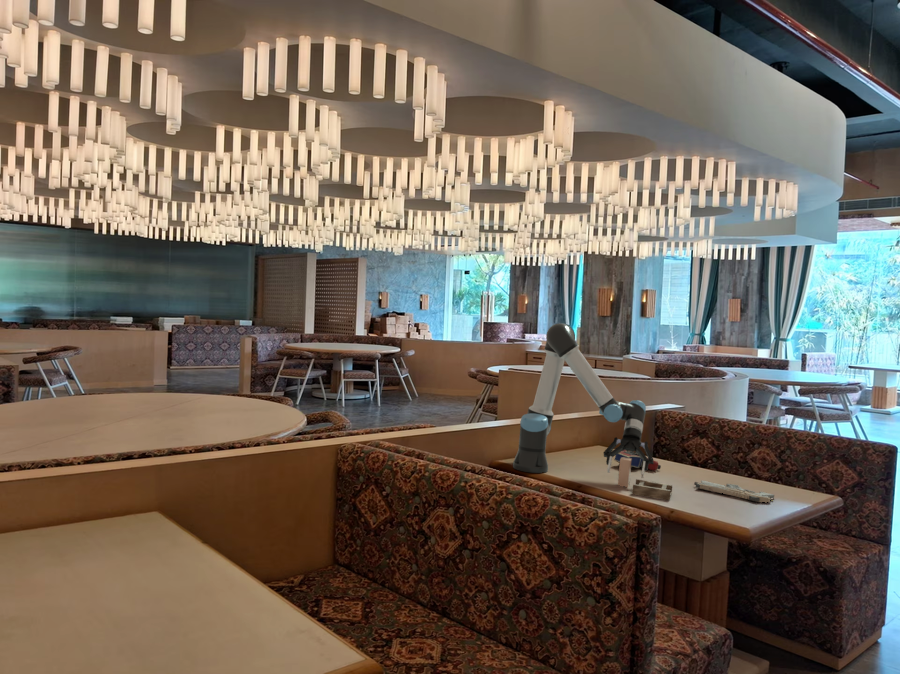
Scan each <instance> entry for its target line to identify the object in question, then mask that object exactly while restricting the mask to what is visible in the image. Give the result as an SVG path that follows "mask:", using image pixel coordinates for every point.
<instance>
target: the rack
mask: <svg viewBox="0 0 900 674" xmlns="http://www.w3.org/2000/svg"><path fill="white" fill-rule="evenodd" d="M631 494H632V495H634V494H635V495H636V496H641V497H646V498H653V499H658V500H665V501H670V500H671V497H672V494H673V484H668V483H662V482H656V481H652V480H651V481H649V480H644V479H643V480H642V479H635V483H633V484H632V491H631Z"/></svg>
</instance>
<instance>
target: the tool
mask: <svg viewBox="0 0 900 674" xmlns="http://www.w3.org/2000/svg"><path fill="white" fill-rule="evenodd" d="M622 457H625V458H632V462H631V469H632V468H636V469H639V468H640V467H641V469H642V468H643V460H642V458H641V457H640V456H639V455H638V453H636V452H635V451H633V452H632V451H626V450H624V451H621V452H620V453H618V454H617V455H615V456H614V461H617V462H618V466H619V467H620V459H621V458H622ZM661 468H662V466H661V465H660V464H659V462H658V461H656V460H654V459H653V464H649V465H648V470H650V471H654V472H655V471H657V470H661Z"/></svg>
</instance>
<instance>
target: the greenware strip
mask: <svg viewBox="0 0 900 674" xmlns="http://www.w3.org/2000/svg"><path fill="white" fill-rule="evenodd" d="M631 462H632V458H625V457H622V458H621V459H620V462H619V463H620V466H619V468H618V478H617V486H618V485H620V486H619V487H623V486H625V487H624V488H628V487H629V486H630V481H631V471H632V468H631Z"/></svg>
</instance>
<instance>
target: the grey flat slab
mask: <svg viewBox="0 0 900 674" xmlns="http://www.w3.org/2000/svg"><path fill="white" fill-rule="evenodd" d="M693 485H695V488H698V489H701V490H705V491H709V492H711V493H713V494H715V493H718V494H722V493H723V495H728V496H733V497H736V498H741V499H744V500H745V499H746V500H748V501H751V502H756V503H757V502H758V503H762V502H765V503H764V504H768V503H771V501H773V502H774V499H775V494H773V493H769V492H764V491H759V492H755V491H754V490H750V489H746V488H742V487H741V486H740V485H739V484H731V483H726V485H724V484H719V483H714V482H710V481H706V480H700V482H697V481H694V484H693ZM771 498H774V499H772V500H771ZM770 500H771V501H770ZM767 502H768V503H767Z"/></svg>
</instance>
